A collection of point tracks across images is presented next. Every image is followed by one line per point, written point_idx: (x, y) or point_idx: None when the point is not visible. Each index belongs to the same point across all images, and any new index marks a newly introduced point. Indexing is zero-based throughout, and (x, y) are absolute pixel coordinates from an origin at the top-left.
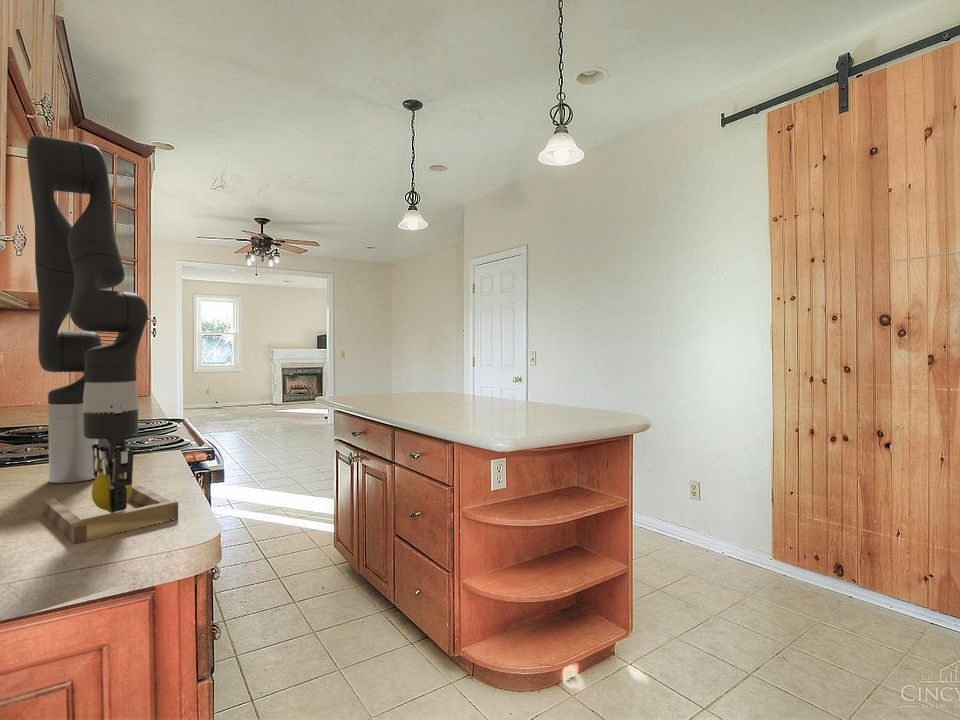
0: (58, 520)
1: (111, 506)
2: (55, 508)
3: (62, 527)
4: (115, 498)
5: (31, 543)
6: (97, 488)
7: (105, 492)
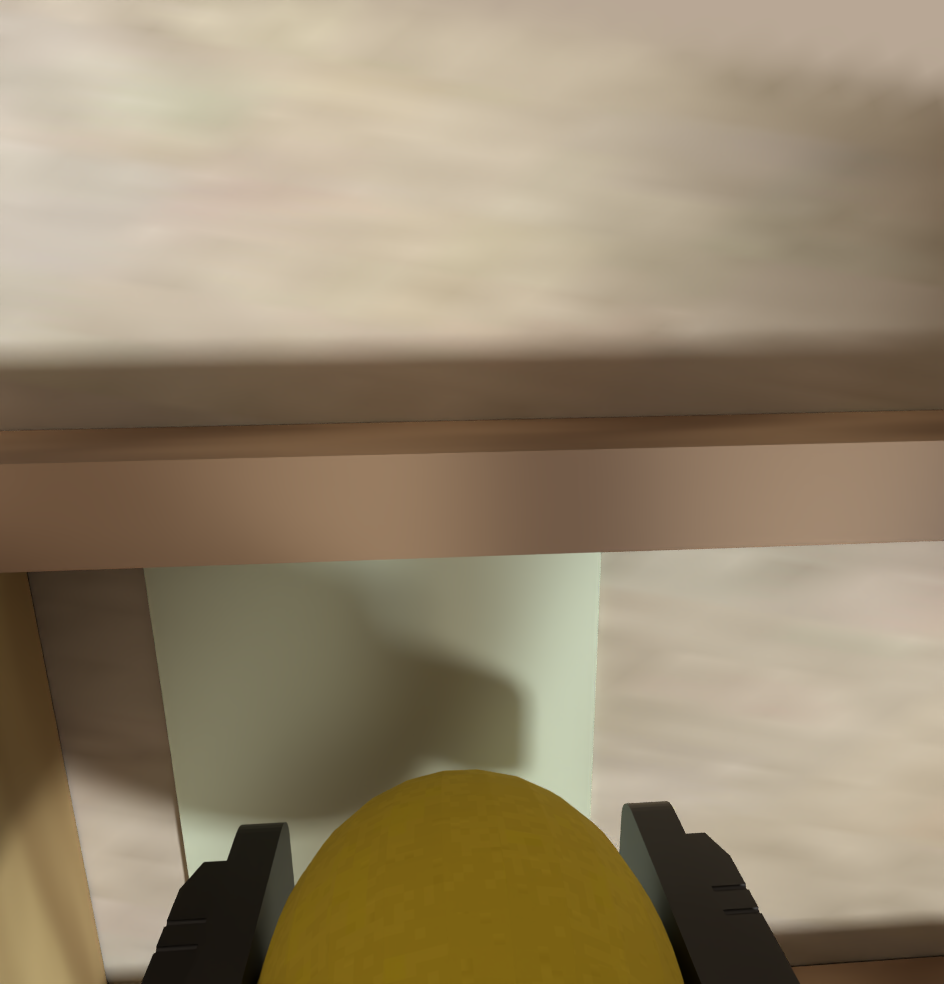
0: (524, 434)
1: (230, 863)
2: (793, 464)
3: (349, 431)
4: (146, 974)
5: (210, 165)
6: (356, 960)
7: (276, 971)
